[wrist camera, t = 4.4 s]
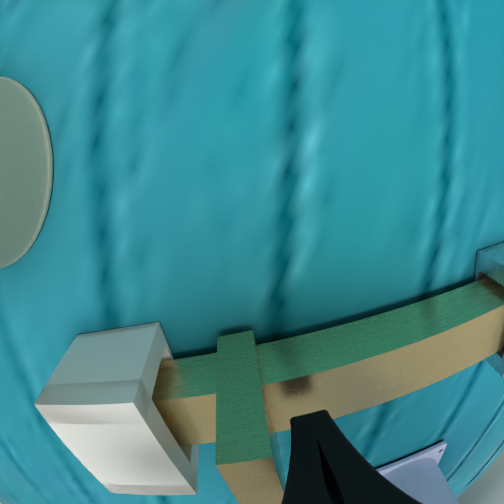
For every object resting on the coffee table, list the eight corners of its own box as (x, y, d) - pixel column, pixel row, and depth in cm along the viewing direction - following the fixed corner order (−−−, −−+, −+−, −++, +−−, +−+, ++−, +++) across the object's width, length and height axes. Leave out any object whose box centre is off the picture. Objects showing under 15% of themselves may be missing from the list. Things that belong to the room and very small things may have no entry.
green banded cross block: (488, 329, 15) (552, 389, 9) (148, 419, 14) (129, 521, 8) (499, 259, 13) (583, 310, 7) (112, 353, 13) (66, 464, 7)
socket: (200, 417, 15) (197, 494, 11) (128, 423, 15) (111, 492, 11) (158, 321, 13) (133, 402, 8) (77, 334, 13) (33, 404, 8)
